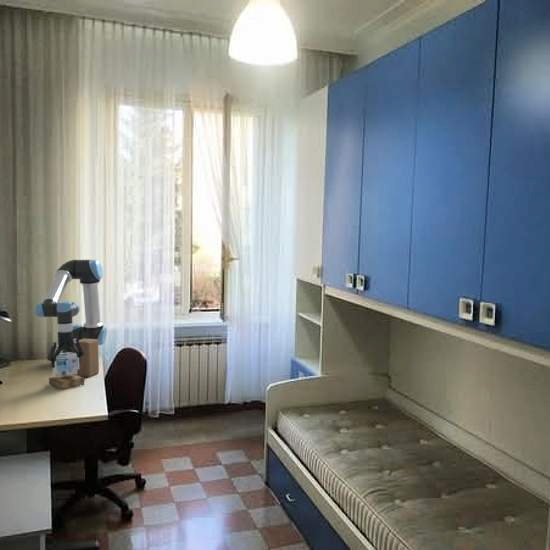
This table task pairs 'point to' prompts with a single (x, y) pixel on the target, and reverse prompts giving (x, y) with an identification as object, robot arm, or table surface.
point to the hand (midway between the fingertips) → (66, 371)
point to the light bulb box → (66, 364)
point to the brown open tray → (66, 381)
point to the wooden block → (88, 358)
